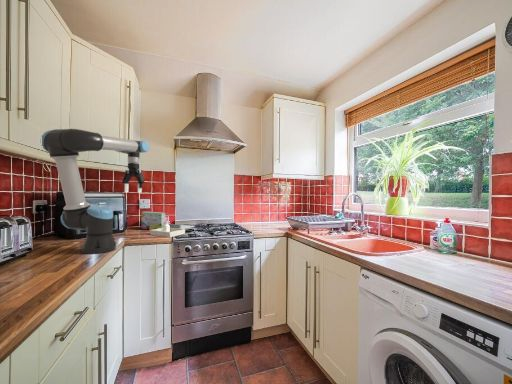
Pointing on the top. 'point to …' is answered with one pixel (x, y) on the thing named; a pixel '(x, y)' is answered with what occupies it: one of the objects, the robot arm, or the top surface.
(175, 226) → the mailer lid
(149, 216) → the snack box
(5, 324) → the top surface
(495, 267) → the top surface
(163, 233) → the mailer box
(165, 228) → the pepper shaker
